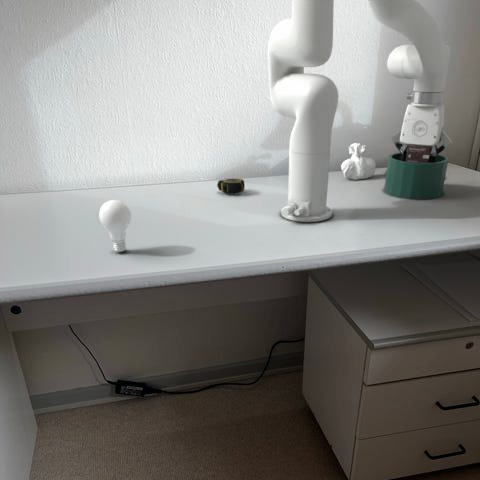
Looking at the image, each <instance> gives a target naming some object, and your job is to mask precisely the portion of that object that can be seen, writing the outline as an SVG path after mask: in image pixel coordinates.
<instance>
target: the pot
mask: <svg viewBox="0 0 480 480" xmlns="http://www.w3.org/2000/svg"><path fill="white" fill-rule="evenodd" d="M431 154H432V153H431ZM400 155H401V153H400V152H394V153H391V154H389V155H388V158H387V165H386V170H387V173H386V172H385V181H384V182H385V183H384V193H386V194H388V195H389V196H392V197H395V198H400V199H406V200H432V199H436V198H440V197H441V196H442V195H443V191H444V186H445V181H446V175H447V169H448V165H449V160H450V159H449V157H448V156H447V155H444V154H441V153H439V154H438V155H437V158H436V163H413V162H405V161H400ZM430 156H431V155H430Z"/></svg>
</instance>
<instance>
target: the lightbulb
mask: <svg viewBox="0 0 480 480" xmlns="http://www.w3.org/2000/svg"><path fill="white" fill-rule="evenodd" d="M98 219H99V221H100V223H101V225H102V226H103V228H104V229H105V230H106V231H107V233H108V235H109V237H110V239H111V242H112V248H113V251H114V252H117V253H120V254H121V253H123V252H124V251H126V250H127V244H126V236H127V230H128V228H129V226H130V224H131V221H132V212H131V210H130V208H129V206H128V205H127V204H126V203H125V202H123V201H122V200H119V199H110V200H107V201H105V202H104V203H103V204H102V205H101V206H100V208H99V211H98Z"/></svg>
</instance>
